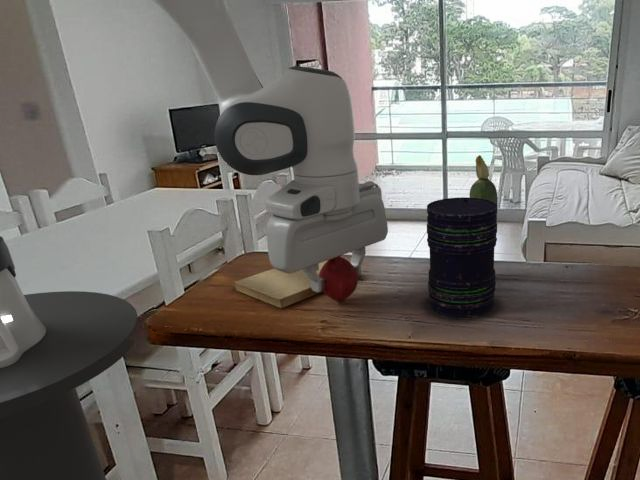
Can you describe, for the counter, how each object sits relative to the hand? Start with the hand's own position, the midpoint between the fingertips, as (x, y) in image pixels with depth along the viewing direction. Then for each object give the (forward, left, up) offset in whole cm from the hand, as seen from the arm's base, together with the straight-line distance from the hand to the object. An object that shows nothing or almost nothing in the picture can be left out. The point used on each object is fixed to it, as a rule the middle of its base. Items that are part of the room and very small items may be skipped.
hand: (337, 283), depth 86 cm
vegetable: (+21, -12, -3) cm, 24 cm away
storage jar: (+10, -16, -3) cm, 19 cm away
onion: (0, 0, -3) cm, 3 cm away
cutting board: (+1, +11, -3) cm, 11 cm away
